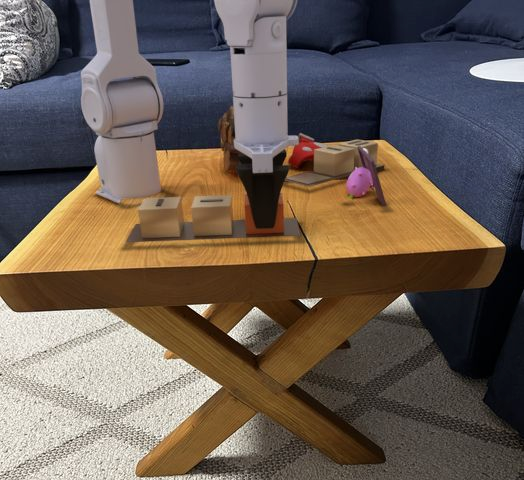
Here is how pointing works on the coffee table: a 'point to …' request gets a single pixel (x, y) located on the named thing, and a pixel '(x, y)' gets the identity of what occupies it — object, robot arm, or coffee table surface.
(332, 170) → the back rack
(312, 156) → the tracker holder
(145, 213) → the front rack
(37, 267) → the coffee table surface
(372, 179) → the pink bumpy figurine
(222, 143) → the wooden carving
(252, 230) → the terracotta cube
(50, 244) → the coffee table surface
